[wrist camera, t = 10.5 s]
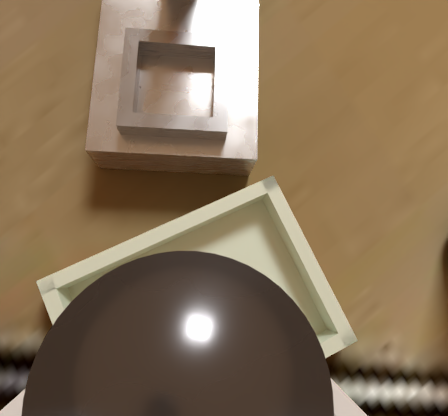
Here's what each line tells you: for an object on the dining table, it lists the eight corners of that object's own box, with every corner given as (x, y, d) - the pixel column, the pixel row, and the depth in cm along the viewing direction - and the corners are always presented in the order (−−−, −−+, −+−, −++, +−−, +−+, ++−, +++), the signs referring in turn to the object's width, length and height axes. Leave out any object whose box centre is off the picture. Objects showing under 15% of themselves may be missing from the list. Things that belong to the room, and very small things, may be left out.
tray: (119, 455, 24) (110, 477, 22) (52, 281, 26) (36, 281, 24) (341, 334, 27) (357, 340, 24) (266, 185, 29) (273, 175, 26)
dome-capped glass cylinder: (167, 392, 17) (95, 669, 5) (126, 297, 18) (-26, 334, 6) (258, 342, 18) (389, 477, 6) (215, 253, 19) (249, 204, 6)
